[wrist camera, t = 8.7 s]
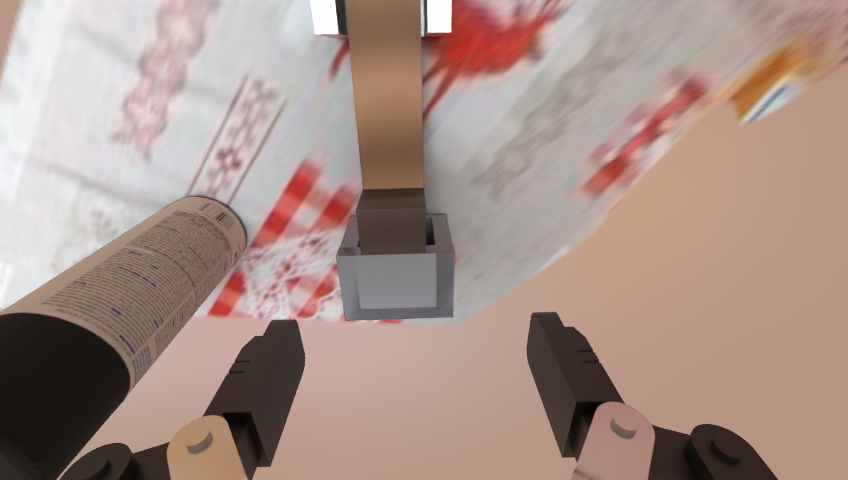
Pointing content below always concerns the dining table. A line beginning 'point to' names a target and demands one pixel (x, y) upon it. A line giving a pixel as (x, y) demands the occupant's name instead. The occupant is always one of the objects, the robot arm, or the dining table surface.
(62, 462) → the spray can
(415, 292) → the socket
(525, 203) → the dining table surface
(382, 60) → the walnut bar
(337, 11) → the channel
